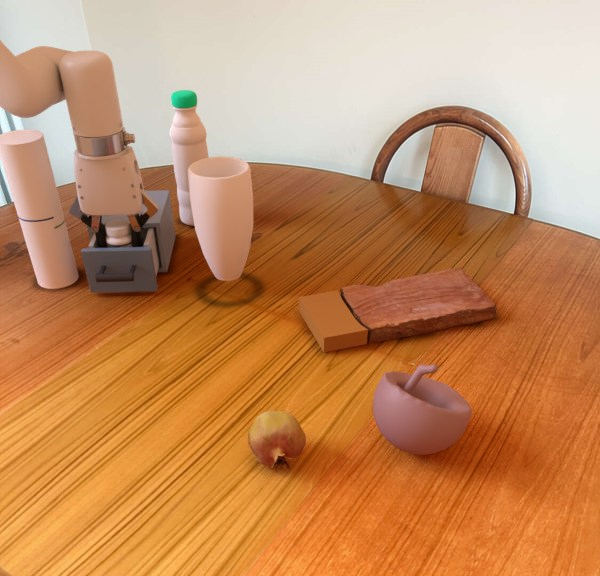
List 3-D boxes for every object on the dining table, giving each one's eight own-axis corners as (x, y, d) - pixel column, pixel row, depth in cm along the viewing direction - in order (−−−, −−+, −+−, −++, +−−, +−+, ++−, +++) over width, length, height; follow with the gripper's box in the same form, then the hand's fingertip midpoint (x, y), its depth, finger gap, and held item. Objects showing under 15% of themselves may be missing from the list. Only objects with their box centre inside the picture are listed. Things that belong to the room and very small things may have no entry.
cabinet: (167, 272, 120) (159, 223, 114) (97, 274, 120) (86, 224, 113) (175, 236, 131) (169, 190, 125) (112, 238, 131) (102, 191, 125)
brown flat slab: (298, 311, 109) (297, 293, 107) (458, 282, 116) (461, 266, 114) (324, 354, 100) (324, 336, 98) (497, 320, 107) (501, 303, 105)
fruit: (236, 400, 82) (245, 454, 75) (289, 383, 82) (303, 435, 75) (253, 438, 87) (263, 492, 79) (302, 422, 87) (317, 475, 79)
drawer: (153, 304, 110) (146, 262, 105) (85, 306, 109) (74, 264, 104) (166, 254, 123) (160, 215, 118) (105, 256, 123) (97, 216, 118)
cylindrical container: (31, 277, 119) (-12, 136, 103) (68, 265, 122) (32, 126, 106) (47, 293, 114) (5, 147, 98) (85, 279, 118) (50, 137, 102)
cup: (257, 304, 111) (250, 179, 97) (196, 305, 111) (180, 180, 97) (260, 274, 119) (254, 154, 105) (203, 275, 119) (189, 155, 105)
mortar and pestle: (481, 441, 85) (498, 371, 77) (425, 490, 78) (437, 418, 71) (408, 399, 91) (417, 330, 84) (350, 440, 85) (355, 370, 78)
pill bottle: (107, 268, 115) (97, 223, 110) (130, 260, 117) (122, 215, 112) (120, 278, 112) (111, 233, 107) (144, 269, 115) (136, 224, 109)
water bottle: (220, 216, 138) (209, 89, 122) (203, 229, 133) (189, 99, 118) (192, 210, 141) (177, 85, 125) (173, 223, 136) (156, 94, 120)
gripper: (159, 133, 104) (174, 239, 116) (51, 135, 104) (77, 241, 115) (153, 149, 98) (169, 259, 110) (38, 151, 98) (67, 261, 109)
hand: (121, 249), depth 112 cm, fingers closed on pill bottle, 4 cm apart
